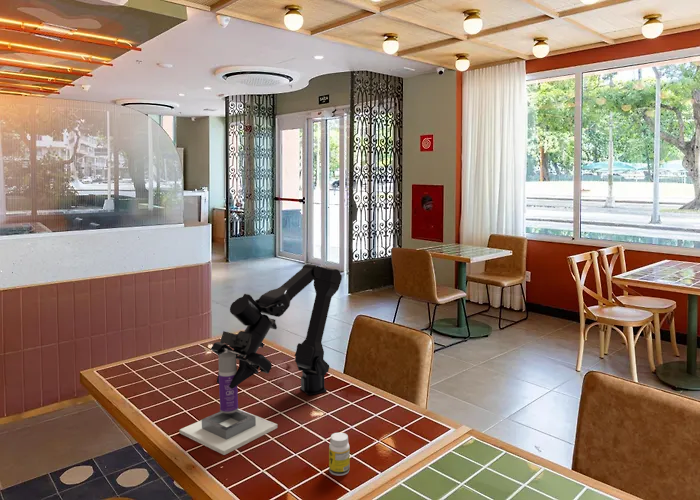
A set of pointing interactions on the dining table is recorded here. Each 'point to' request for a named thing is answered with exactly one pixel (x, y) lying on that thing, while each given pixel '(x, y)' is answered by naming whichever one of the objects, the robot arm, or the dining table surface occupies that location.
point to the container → (227, 383)
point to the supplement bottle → (339, 454)
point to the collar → (227, 432)
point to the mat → (232, 443)
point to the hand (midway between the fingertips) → (224, 385)
